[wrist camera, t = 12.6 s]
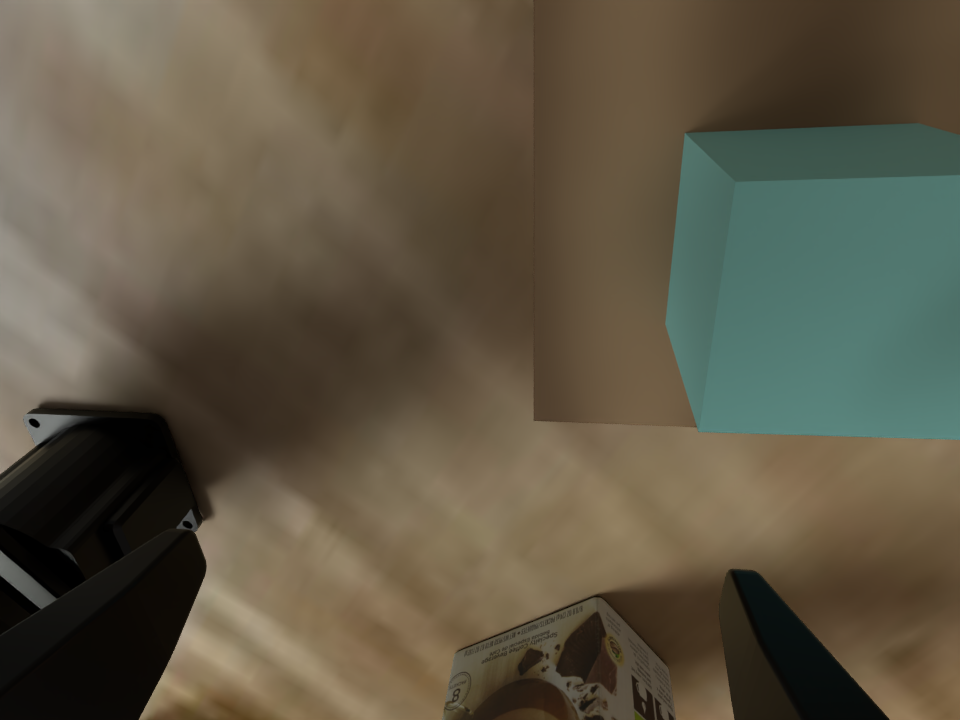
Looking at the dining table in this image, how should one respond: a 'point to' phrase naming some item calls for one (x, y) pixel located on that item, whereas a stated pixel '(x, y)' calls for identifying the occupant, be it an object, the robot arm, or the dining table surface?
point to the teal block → (819, 281)
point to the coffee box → (562, 672)
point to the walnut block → (659, 148)
